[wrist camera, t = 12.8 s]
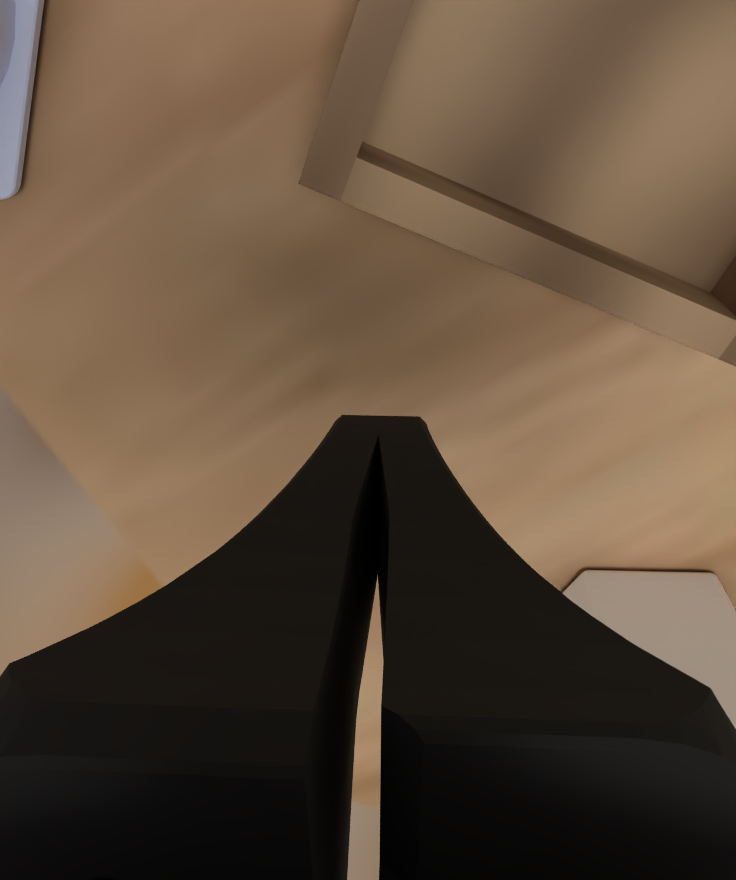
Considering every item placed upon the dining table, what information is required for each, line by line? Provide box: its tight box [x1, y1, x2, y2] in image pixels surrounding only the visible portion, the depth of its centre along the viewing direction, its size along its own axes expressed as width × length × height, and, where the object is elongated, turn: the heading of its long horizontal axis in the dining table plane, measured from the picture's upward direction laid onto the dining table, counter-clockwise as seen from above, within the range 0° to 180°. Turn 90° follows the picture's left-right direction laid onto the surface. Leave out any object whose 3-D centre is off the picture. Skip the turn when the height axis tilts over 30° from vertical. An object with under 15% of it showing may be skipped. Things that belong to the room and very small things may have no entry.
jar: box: [562, 570, 736, 729], centre depth 22 cm, size 9×8×12 cm
